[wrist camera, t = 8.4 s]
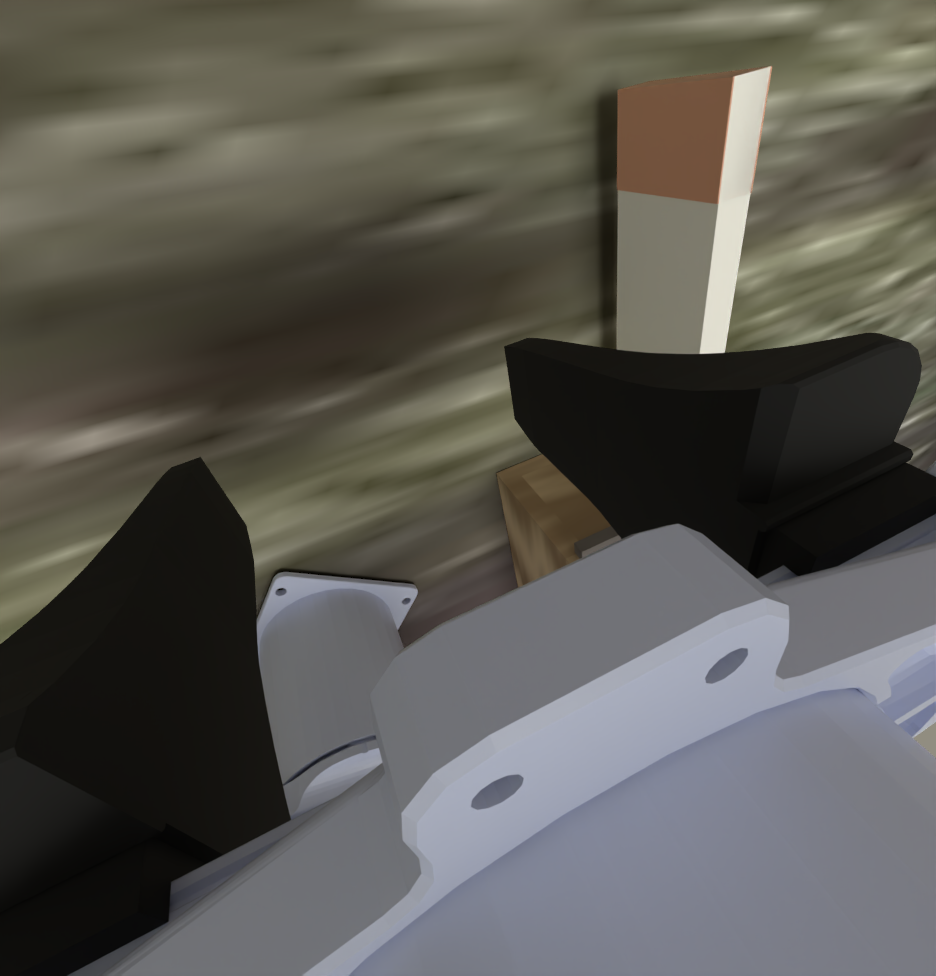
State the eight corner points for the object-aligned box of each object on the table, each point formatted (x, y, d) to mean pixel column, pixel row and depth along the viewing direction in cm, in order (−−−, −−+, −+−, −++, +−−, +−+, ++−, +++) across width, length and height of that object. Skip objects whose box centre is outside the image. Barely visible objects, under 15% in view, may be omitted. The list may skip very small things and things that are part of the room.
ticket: (633, 491, 29) (694, 544, 25) (614, 499, 29) (673, 555, 25) (649, 81, 17) (772, 65, 13) (617, 89, 17) (733, 76, 13)
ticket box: (686, 545, 38) (775, 623, 32) (525, 623, 35) (588, 725, 29) (712, 374, 28) (844, 439, 22) (494, 464, 26) (577, 565, 20)
